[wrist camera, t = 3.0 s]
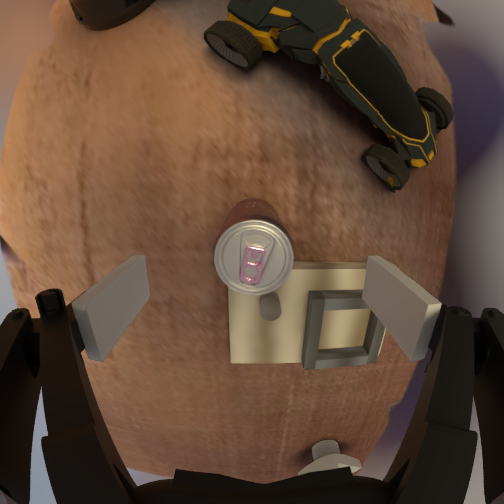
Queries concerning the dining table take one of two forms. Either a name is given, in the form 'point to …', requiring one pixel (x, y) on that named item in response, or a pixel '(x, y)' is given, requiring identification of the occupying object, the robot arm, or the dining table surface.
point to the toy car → (341, 73)
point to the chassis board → (308, 319)
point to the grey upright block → (329, 458)
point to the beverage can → (253, 249)
